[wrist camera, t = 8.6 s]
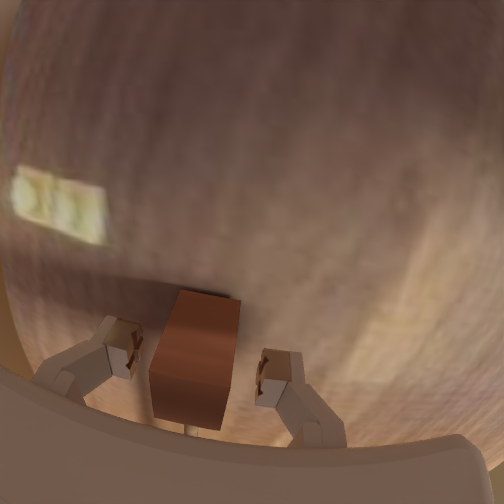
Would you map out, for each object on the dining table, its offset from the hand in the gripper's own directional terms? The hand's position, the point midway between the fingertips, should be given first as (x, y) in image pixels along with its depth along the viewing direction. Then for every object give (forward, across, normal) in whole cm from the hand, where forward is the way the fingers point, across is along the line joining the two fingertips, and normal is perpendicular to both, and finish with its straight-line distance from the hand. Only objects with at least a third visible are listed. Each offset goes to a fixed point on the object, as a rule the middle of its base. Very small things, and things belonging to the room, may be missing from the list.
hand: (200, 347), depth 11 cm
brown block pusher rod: (+2, 0, +11) cm, 11 cm away
